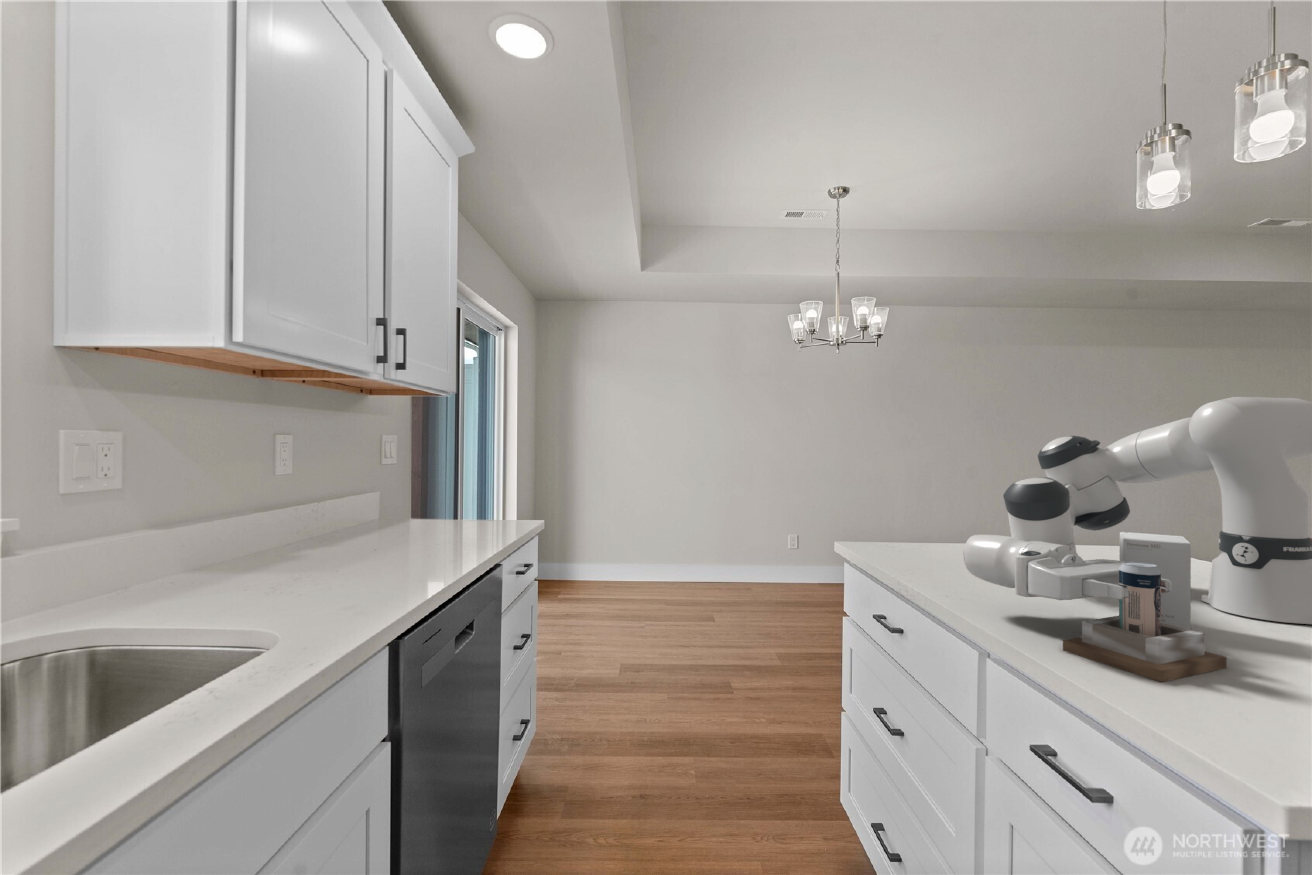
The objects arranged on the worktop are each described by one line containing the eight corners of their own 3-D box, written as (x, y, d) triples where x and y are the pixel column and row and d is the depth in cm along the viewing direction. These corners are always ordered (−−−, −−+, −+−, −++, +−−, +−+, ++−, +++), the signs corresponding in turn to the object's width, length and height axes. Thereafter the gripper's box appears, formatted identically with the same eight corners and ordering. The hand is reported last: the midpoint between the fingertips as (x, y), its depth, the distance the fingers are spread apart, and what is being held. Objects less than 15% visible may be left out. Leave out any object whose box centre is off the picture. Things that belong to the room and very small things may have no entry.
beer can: (1169, 654, 85) (1169, 567, 85) (1131, 652, 86) (1131, 566, 86) (1148, 643, 90) (1147, 561, 90) (1112, 641, 91) (1111, 560, 91)
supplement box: (1121, 626, 103) (1120, 537, 103) (1118, 613, 110) (1118, 530, 111) (1192, 636, 98) (1191, 542, 98) (1184, 622, 105) (1184, 535, 105)
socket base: (1125, 639, 96) (1124, 610, 96) (1226, 667, 84) (1226, 634, 84) (1062, 650, 91) (1062, 619, 91) (1161, 682, 79) (1161, 647, 79)
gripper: (1097, 584, 104) (1193, 604, 91) (1008, 595, 96) (1099, 619, 83) (1096, 547, 104) (1192, 562, 91) (1008, 555, 96) (1099, 573, 83)
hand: (1147, 589), depth 87 cm, fingers open, 8 cm apart
